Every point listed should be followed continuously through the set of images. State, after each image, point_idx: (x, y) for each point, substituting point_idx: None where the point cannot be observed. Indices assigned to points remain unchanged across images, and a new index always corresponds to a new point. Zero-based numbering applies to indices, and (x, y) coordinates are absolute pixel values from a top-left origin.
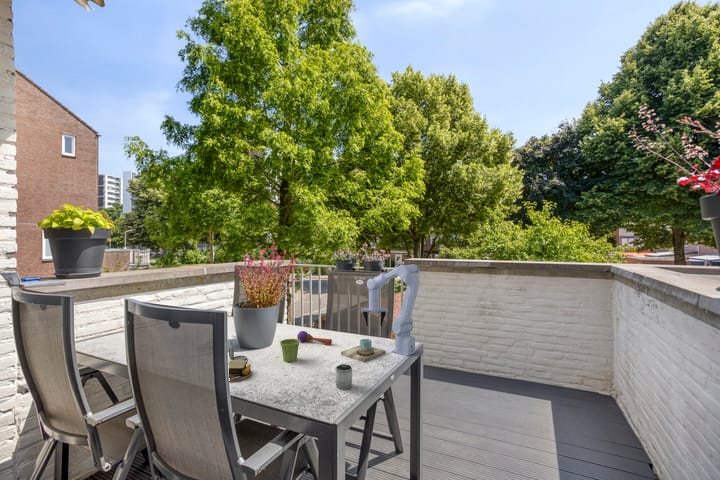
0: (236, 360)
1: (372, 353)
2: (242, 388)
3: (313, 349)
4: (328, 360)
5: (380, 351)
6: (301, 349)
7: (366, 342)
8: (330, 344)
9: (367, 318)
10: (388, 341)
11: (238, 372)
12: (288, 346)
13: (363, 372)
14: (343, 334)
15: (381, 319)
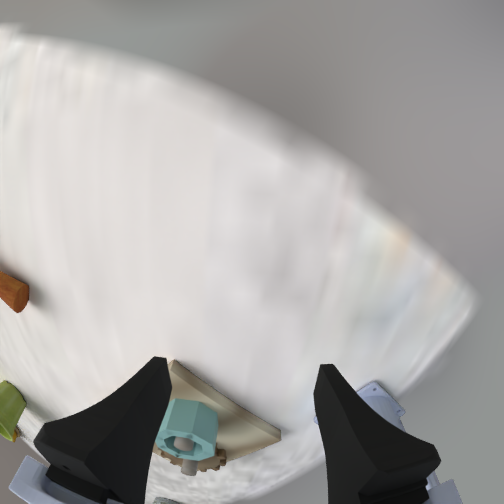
0: None
1: (219, 468)
2: (39, 453)
3: (9, 333)
4: None
5: (256, 444)
6: None
7: (189, 458)
8: (27, 292)
9: (147, 464)
10: (358, 260)
11: None
12: (6, 432)
13: (196, 489)
14: (61, 80)
15: (327, 460)
